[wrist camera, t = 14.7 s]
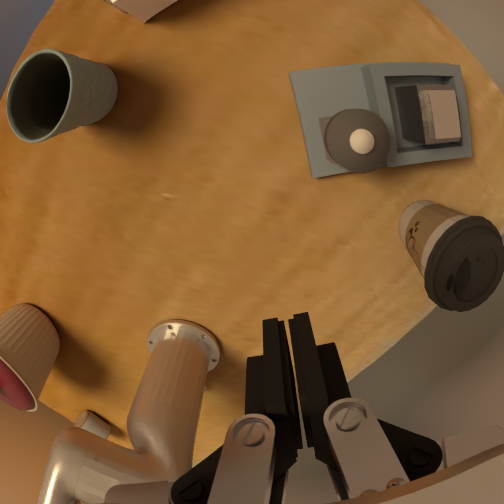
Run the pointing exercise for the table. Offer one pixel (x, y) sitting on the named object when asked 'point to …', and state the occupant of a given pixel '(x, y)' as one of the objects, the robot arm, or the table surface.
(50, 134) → the green tumbler
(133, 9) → the beige beam
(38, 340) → the canister
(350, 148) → the round knob on base
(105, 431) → the ceramic mug
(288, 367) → the robot arm
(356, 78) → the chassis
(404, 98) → the beige block
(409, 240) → the coffee cup
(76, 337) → the table surface
